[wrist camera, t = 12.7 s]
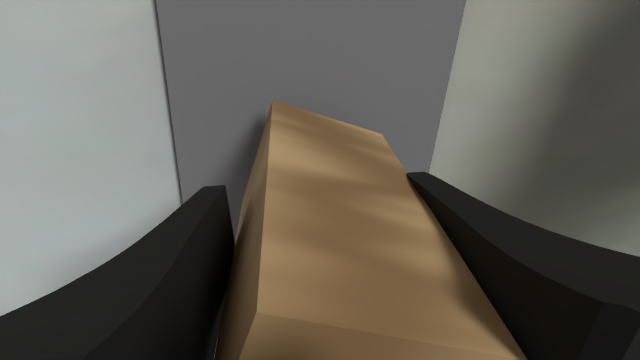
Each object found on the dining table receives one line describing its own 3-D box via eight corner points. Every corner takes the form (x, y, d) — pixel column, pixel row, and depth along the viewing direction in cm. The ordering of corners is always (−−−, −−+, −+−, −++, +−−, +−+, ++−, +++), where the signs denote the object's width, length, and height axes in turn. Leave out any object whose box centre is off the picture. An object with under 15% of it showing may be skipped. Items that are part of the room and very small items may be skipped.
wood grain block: (381, 134, 13) (564, 417, 5) (341, 223, 15) (421, 553, 6) (272, 99, 12) (251, 374, 4) (242, 199, 14) (180, 547, 5)
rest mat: (463, -12, 13) (468, -12, 12) (405, 264, 18) (407, 270, 18) (155, -33, 12) (151, -33, 11) (193, 267, 17) (192, 273, 17)
